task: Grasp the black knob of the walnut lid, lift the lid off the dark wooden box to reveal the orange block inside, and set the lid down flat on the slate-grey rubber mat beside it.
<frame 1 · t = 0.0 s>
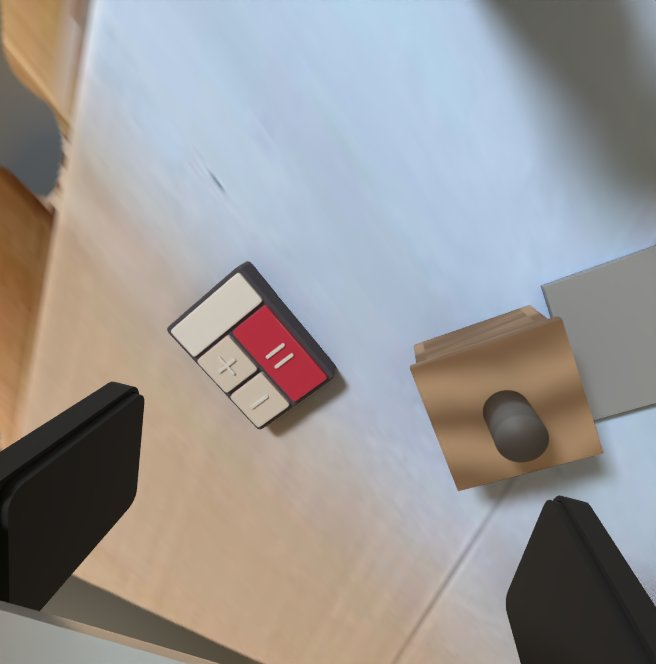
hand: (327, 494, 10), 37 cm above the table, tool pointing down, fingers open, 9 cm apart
lid: (501, 401, 42), point 6 cm above the table, touching storage box
storage box: (488, 377, 47), on the table
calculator: (258, 342, 50), on the table
mat: (641, 328, 44), on the table
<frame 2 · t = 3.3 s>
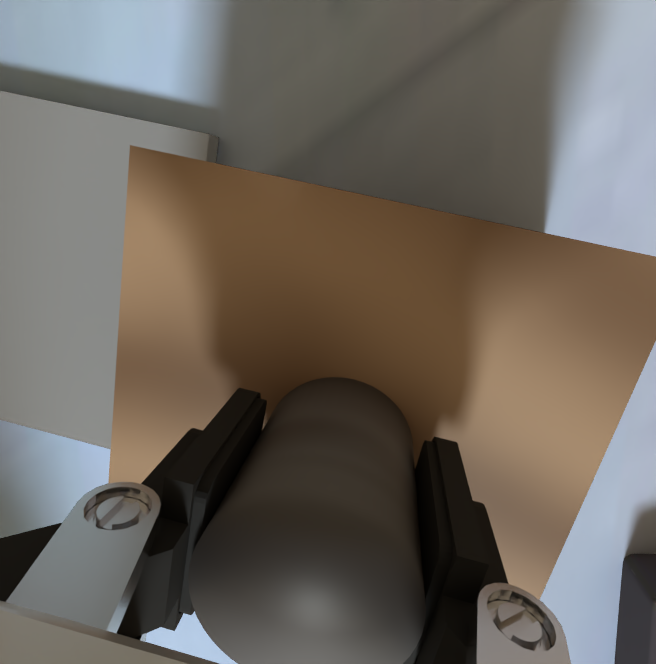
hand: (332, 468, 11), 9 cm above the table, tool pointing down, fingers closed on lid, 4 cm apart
lid: (345, 412, 14), point 6 cm above the table, touching gripper, storage box
mat: (45, 276, 21), on the table
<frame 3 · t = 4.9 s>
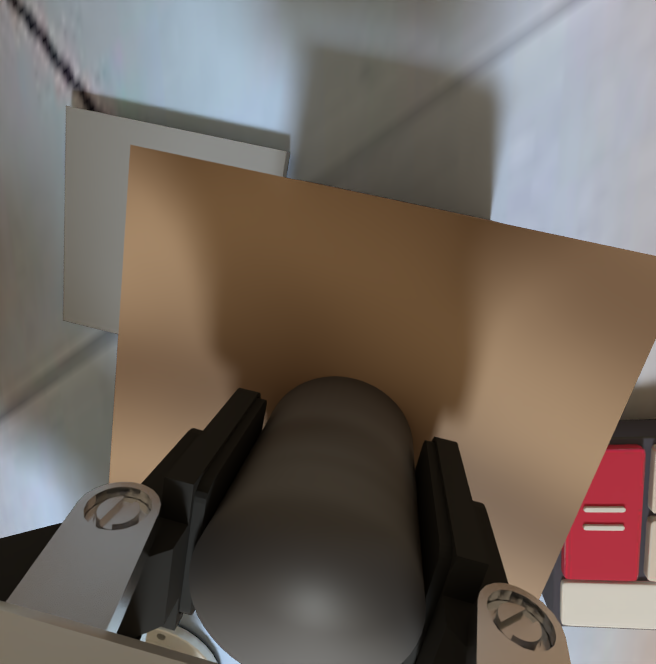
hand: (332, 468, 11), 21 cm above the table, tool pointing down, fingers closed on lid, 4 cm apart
lid: (345, 412, 14), point 18 cm above the table, touching gripper
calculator: (616, 505, 34), on the table
mat: (171, 242, 32), on the table
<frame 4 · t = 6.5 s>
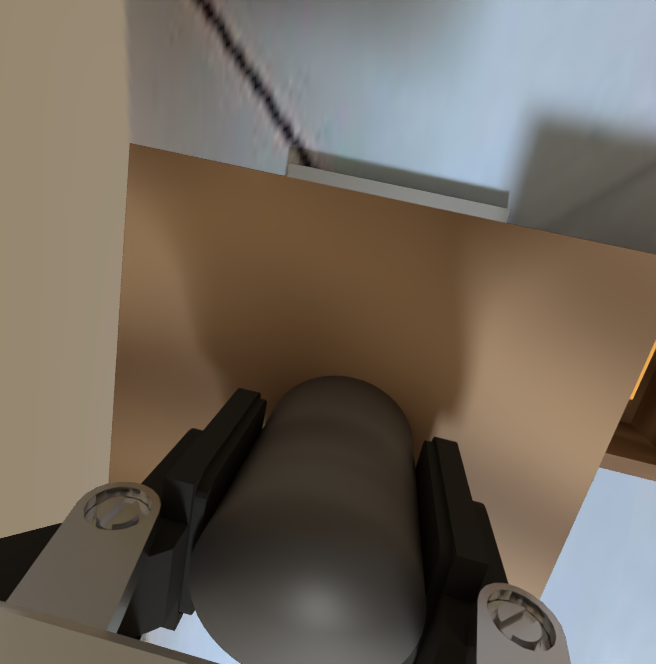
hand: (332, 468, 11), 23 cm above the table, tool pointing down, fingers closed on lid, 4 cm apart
lid: (345, 411, 14), point 20 cm above the table, touching gripper
storage box: (579, 338, 32), on the table
mat: (372, 291, 33), on the table
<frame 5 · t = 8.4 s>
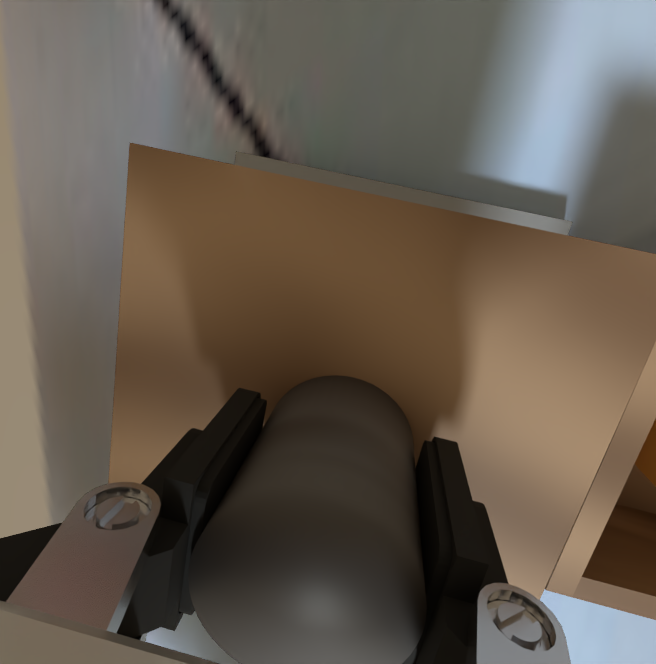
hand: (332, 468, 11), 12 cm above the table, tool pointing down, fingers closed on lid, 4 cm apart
lid: (346, 411, 14), point 9 cm above the table, touching gripper
mat: (362, 338, 23), on the table
when the fingers open (6 cm above the table, at t = 10.0 s): lid drops 1 cm, resting on mat.
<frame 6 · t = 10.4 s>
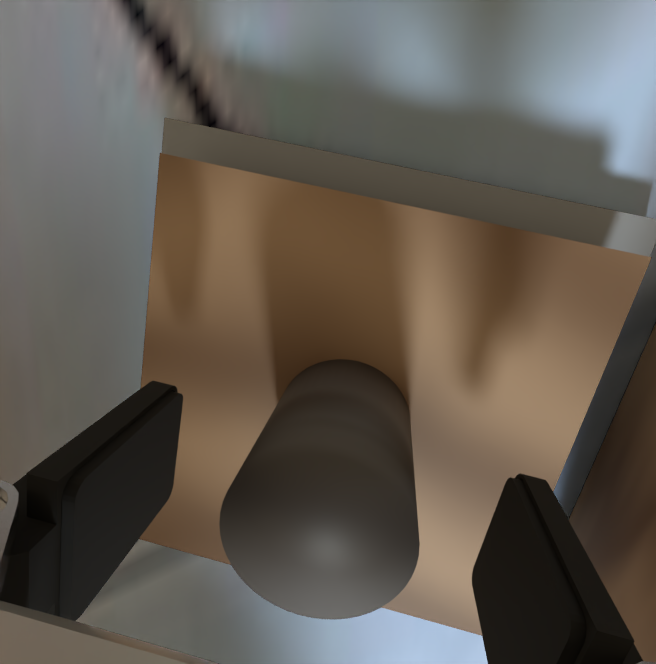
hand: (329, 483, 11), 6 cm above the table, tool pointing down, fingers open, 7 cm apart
lid: (349, 394, 16), point 1 cm above the table, touching mat
mat: (352, 382, 16), on the table
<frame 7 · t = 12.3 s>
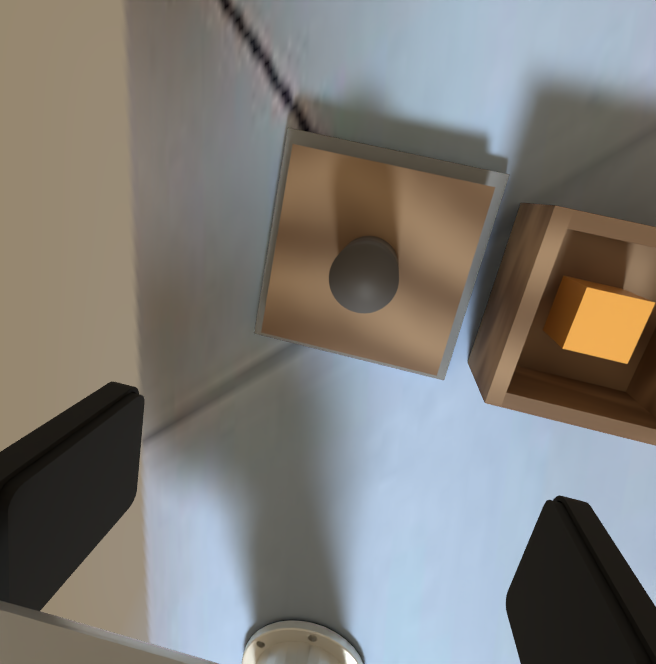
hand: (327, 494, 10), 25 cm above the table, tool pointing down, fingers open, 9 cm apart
lid: (370, 261, 32), point 1 cm above the table, touching mat
storage box: (576, 306, 32), on the table
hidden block: (581, 310, 31), point 1 cm above the table, touching storage box
mat: (370, 259, 33), on the table
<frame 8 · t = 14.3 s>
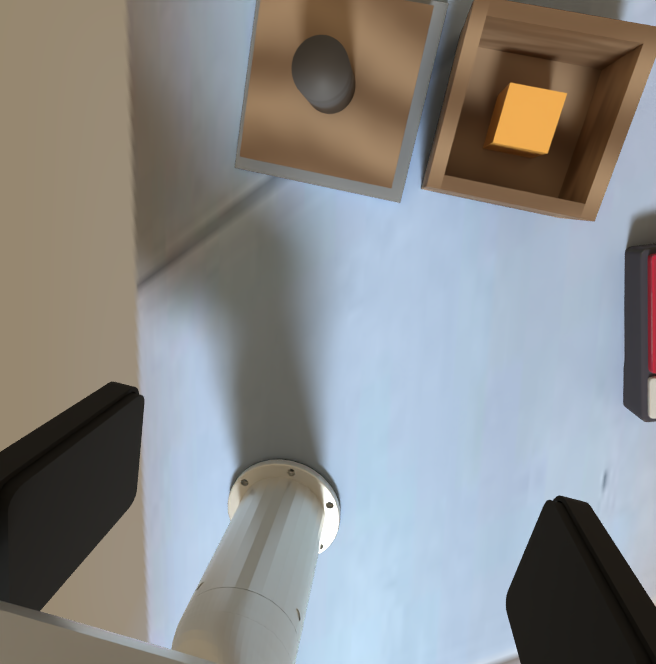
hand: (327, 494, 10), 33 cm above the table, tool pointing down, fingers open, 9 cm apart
lid: (333, 92, 37), point 1 cm above the table, touching mat
storage box: (511, 129, 37), on the table
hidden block: (515, 127, 36), point 1 cm above the table, touching storage box
mat: (335, 94, 38), on the table
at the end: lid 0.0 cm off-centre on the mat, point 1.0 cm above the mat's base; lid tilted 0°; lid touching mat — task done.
